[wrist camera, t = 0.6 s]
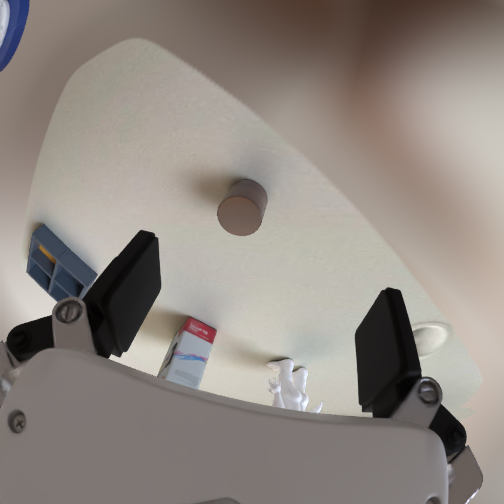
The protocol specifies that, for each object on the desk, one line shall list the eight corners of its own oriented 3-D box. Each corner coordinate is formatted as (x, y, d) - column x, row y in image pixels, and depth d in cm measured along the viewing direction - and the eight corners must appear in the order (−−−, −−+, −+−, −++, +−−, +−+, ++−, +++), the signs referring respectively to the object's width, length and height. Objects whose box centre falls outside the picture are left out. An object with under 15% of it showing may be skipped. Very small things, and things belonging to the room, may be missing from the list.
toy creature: (253, 356, 43) (239, 422, 34) (280, 343, 40) (270, 416, 31) (300, 384, 47) (294, 442, 37) (327, 374, 44) (325, 437, 34)
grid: (35, 262, 41) (26, 272, 39) (43, 223, 35) (32, 233, 32) (80, 304, 45) (72, 315, 43) (97, 274, 39) (87, 287, 36)
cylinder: (224, 181, 27) (212, 198, 24) (264, 177, 26) (257, 193, 23) (232, 217, 29) (222, 237, 26) (270, 214, 28) (265, 235, 25)
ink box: (190, 315, 40) (162, 382, 30) (218, 330, 41) (197, 398, 31) (172, 338, 45) (147, 396, 35) (196, 351, 46) (176, 410, 36)
